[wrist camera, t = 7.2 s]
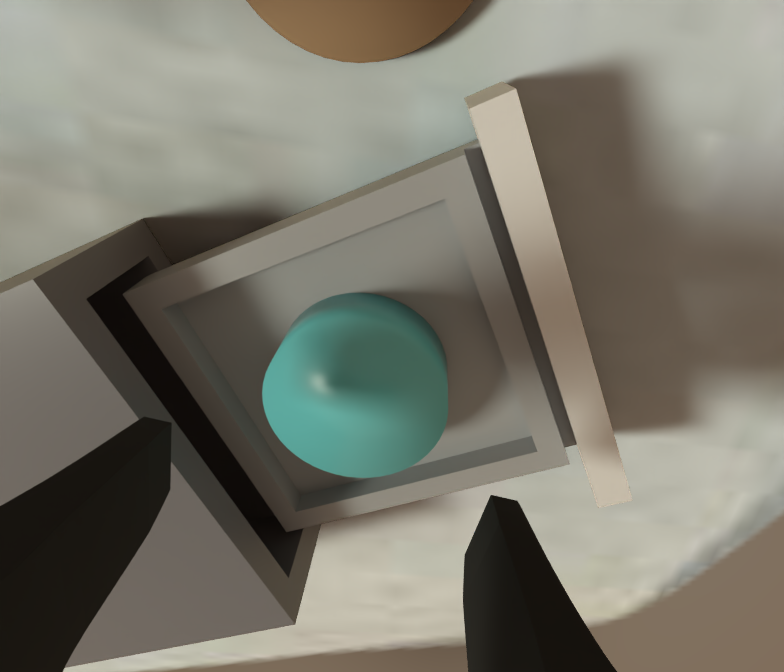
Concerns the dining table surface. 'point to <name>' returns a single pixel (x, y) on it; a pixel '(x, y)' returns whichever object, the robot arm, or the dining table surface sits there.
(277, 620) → the grey drawer box
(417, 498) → the tray
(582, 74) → the dining table surface
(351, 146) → the dining table surface
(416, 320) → the teal dome
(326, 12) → the stand
